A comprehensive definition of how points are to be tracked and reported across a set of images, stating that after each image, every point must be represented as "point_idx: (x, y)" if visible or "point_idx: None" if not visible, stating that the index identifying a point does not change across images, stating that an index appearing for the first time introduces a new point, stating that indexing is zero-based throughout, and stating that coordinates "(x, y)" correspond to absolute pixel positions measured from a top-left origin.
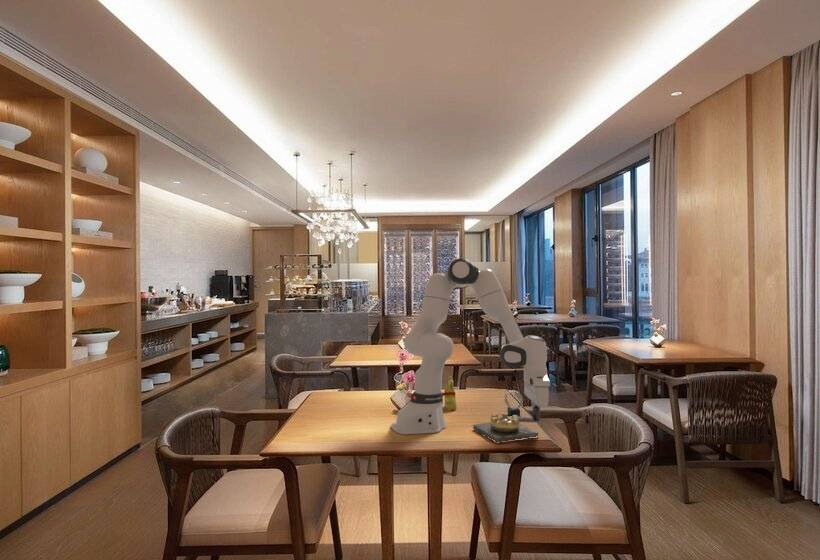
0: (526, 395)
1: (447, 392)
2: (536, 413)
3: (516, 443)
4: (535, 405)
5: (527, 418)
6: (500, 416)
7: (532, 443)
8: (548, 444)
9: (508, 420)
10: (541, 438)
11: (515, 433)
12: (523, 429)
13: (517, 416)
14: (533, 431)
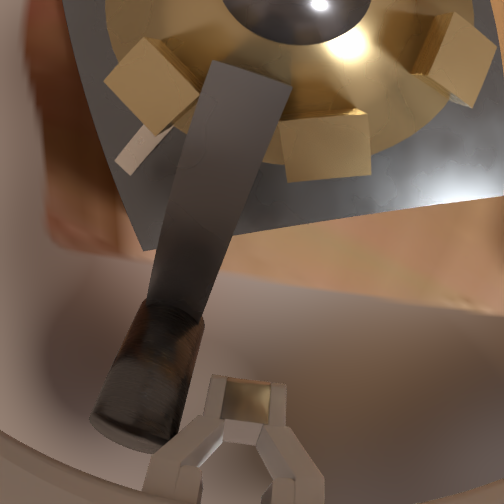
0: (467, 501)
1: None
2: (111, 367)
3: (61, 53)
4: (161, 456)
5: (181, 257)
6: (461, 15)
7: (59, 157)
8: (57, 240)
9: (225, 5)
10: None
11: None
12: None
13: (293, 168)
14: None
